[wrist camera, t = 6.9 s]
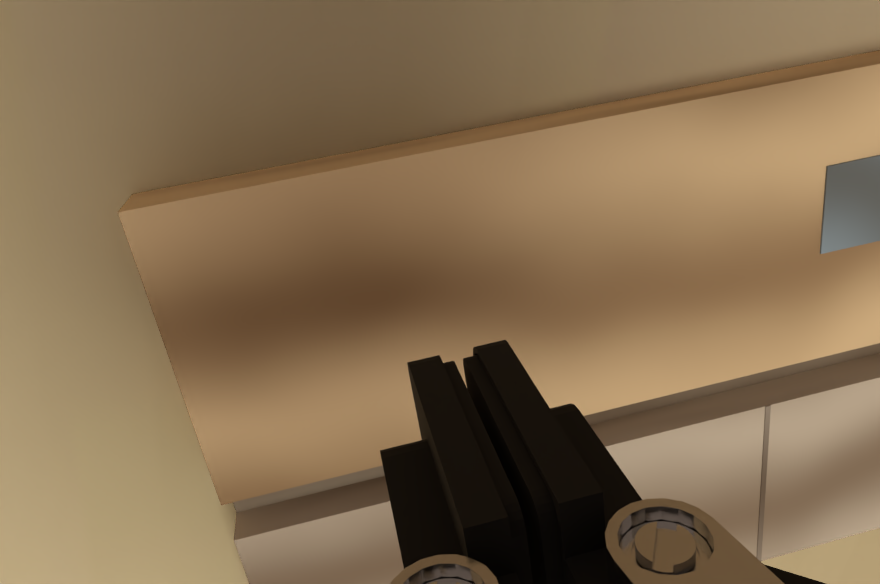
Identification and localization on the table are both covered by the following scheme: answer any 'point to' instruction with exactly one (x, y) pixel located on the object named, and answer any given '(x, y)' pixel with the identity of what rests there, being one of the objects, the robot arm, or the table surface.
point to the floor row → (639, 474)
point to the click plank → (518, 264)
